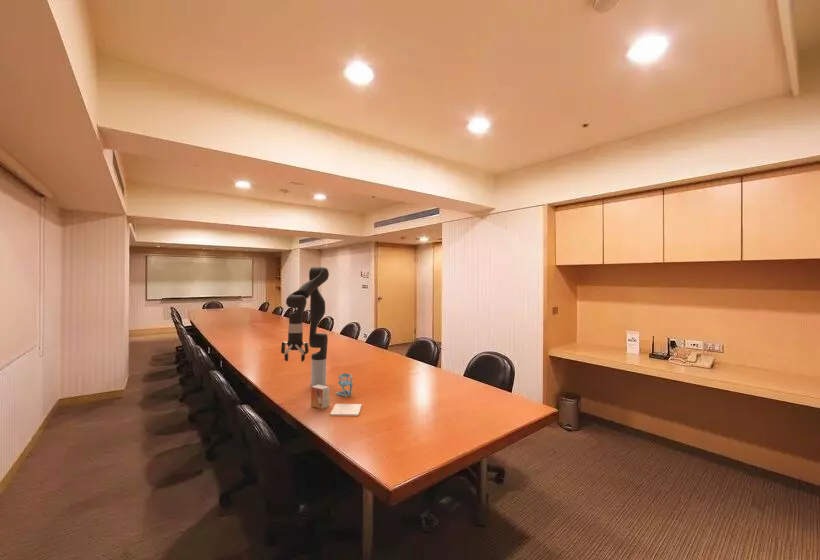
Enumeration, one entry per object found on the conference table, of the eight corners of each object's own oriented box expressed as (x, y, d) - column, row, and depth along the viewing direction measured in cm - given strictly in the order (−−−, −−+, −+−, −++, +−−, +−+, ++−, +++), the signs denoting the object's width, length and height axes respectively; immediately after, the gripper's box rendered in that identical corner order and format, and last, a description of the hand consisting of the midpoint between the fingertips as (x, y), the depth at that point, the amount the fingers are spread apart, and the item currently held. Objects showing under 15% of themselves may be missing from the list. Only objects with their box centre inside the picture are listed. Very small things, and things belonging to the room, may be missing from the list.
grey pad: (335, 405, 182) (335, 403, 182) (361, 405, 182) (361, 404, 182) (330, 415, 168) (330, 413, 168) (358, 416, 168) (358, 414, 168)
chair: (342, 398, 193) (343, 377, 193) (336, 394, 200) (336, 373, 200) (354, 395, 198) (355, 375, 198) (347, 391, 205) (348, 371, 205)
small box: (310, 406, 179) (311, 386, 179) (318, 403, 184) (318, 384, 184) (322, 409, 176) (322, 389, 176) (329, 406, 181) (329, 386, 181)
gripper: (310, 330, 189) (309, 360, 189) (284, 330, 189) (284, 359, 189) (306, 332, 182) (305, 363, 181) (279, 332, 182) (279, 362, 181)
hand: (294, 361), depth 185 cm, fingers open, 8 cm apart
